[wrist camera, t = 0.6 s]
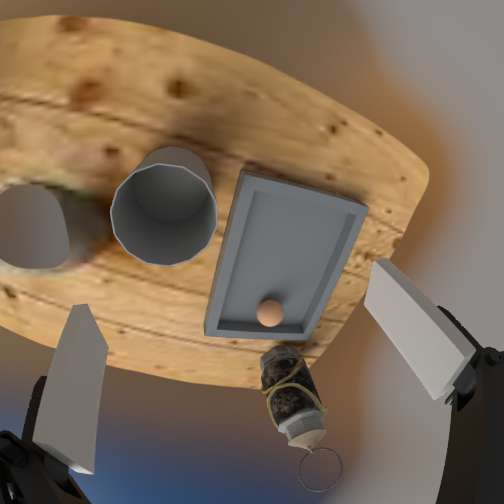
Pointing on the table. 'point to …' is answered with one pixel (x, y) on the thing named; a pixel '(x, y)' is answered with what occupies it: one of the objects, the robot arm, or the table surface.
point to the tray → (280, 257)
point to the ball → (270, 313)
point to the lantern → (293, 400)
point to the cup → (166, 208)
